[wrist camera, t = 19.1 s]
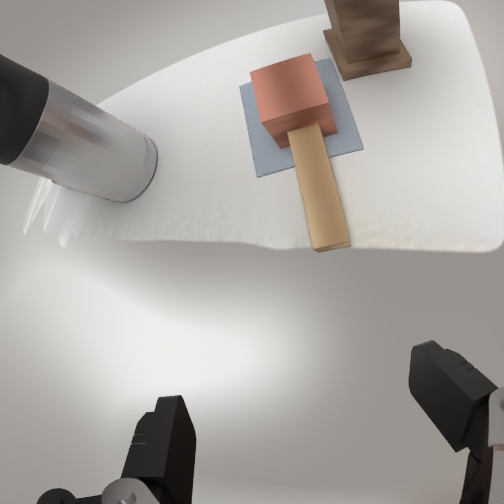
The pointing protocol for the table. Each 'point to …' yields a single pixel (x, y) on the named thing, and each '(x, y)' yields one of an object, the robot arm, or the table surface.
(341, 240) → the mallet
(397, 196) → the table surface
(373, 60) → the wooden pedestal column
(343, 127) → the pad
